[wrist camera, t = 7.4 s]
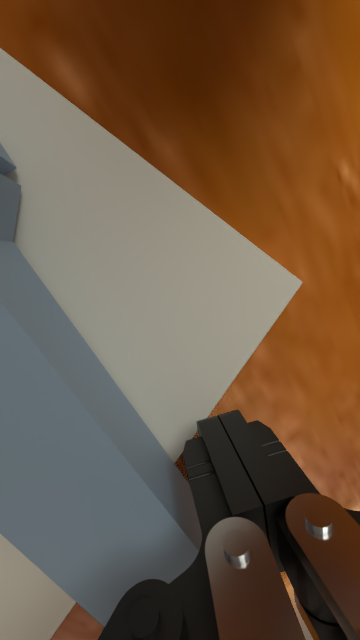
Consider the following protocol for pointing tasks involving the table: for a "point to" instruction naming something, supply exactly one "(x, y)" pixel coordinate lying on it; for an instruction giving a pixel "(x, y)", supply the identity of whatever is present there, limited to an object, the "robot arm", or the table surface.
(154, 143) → the table surface
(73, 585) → the link
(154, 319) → the board
